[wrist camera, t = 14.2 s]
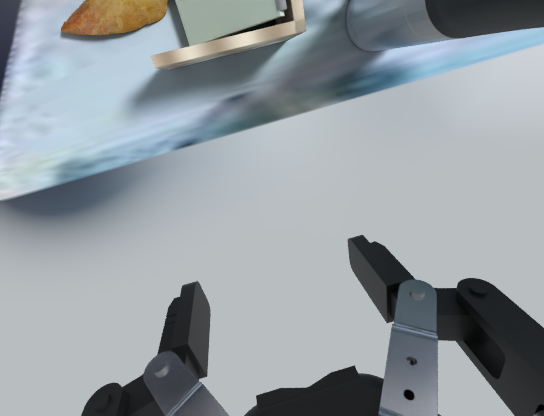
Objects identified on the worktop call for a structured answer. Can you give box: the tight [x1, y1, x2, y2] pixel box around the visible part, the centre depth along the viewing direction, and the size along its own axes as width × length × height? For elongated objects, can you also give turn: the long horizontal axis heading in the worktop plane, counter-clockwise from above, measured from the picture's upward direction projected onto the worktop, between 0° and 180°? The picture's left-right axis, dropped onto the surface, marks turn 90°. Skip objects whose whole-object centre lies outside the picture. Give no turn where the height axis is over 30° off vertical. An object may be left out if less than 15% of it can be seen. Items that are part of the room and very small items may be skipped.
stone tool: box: [61, 0, 168, 35], centre depth 34 cm, size 5×2×15 cm
